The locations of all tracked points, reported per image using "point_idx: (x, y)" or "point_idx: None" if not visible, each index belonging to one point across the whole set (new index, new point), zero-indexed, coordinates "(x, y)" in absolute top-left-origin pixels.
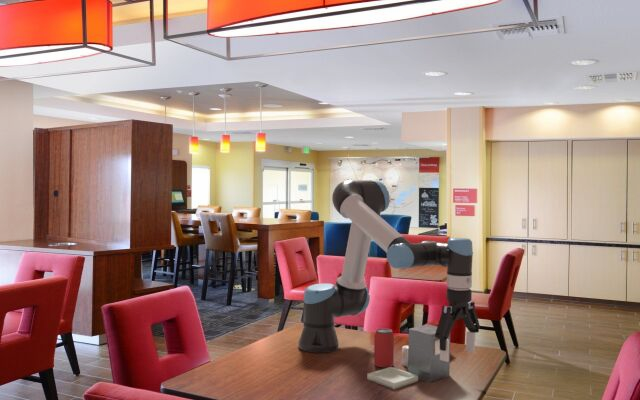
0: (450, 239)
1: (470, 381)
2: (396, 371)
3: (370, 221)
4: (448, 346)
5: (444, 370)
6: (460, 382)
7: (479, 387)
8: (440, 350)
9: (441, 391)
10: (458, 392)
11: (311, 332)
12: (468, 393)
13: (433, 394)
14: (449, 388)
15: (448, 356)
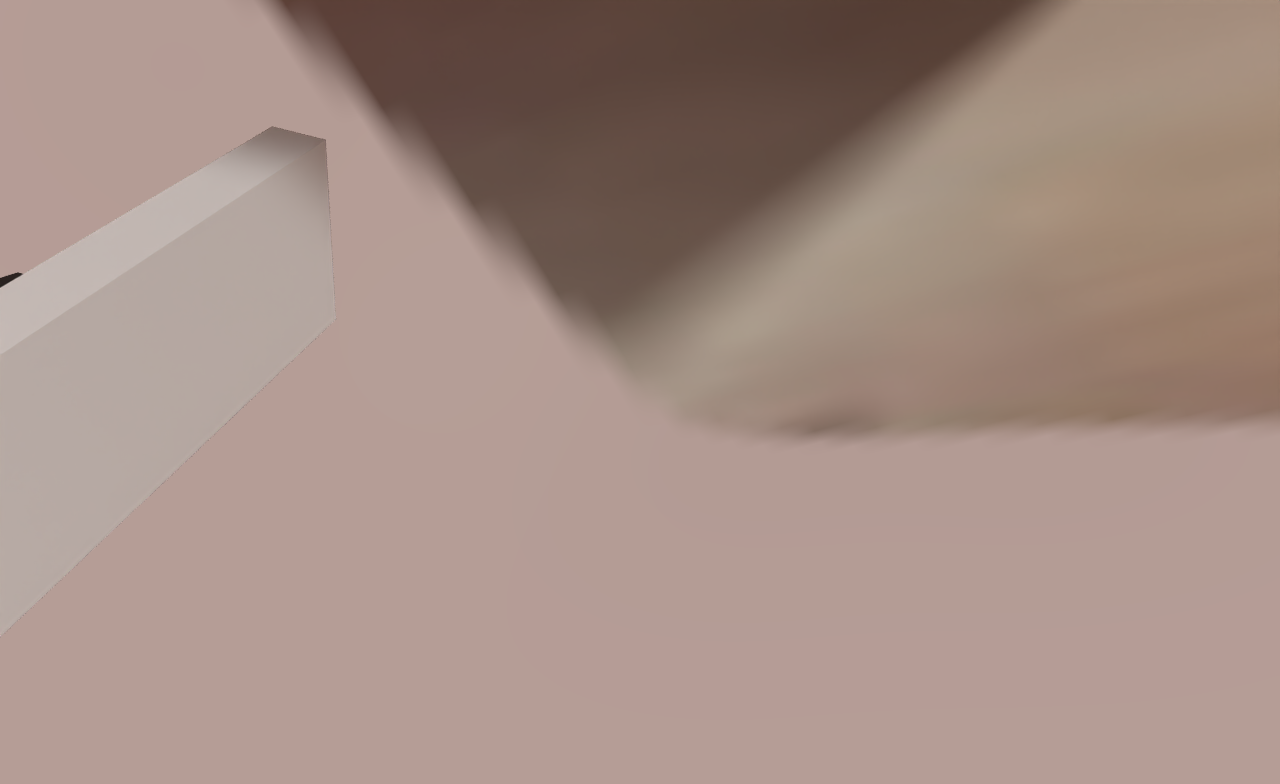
0: None
1: (1150, 241)
2: None
3: None
4: (96, 519)
5: None
6: (1002, 131)
7: (944, 407)
8: (122, 231)
9: (451, 59)
10: (584, 252)
11: None
12: (640, 356)
13: (285, 21)
14: (633, 100)
15: (265, 372)
